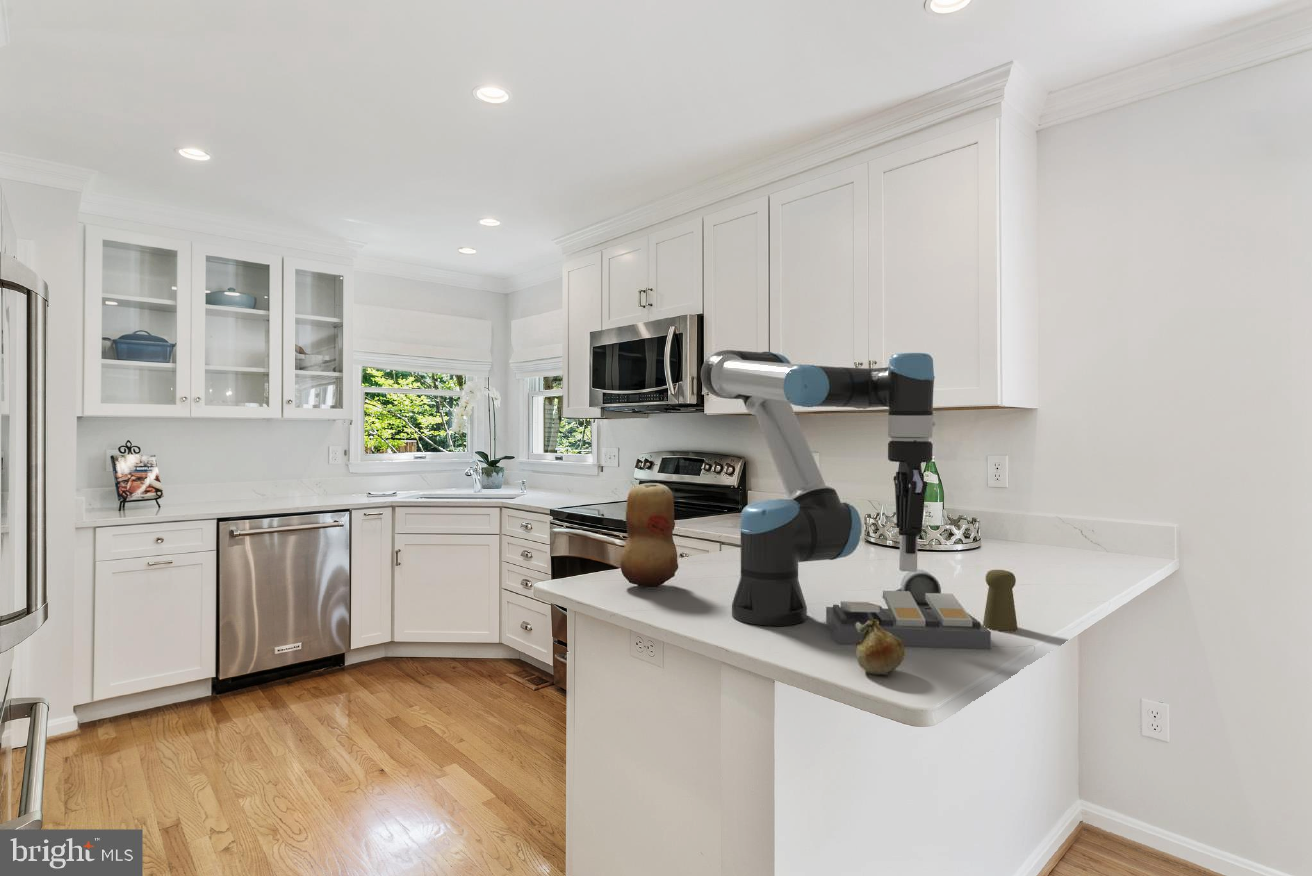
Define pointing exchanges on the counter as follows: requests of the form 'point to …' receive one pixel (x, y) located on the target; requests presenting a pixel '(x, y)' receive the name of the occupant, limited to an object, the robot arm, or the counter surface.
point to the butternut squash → (649, 536)
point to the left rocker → (859, 606)
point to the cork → (1000, 601)
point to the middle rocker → (903, 608)
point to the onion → (878, 649)
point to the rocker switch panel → (908, 629)
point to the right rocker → (948, 609)
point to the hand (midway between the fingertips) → (908, 570)
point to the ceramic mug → (920, 586)
